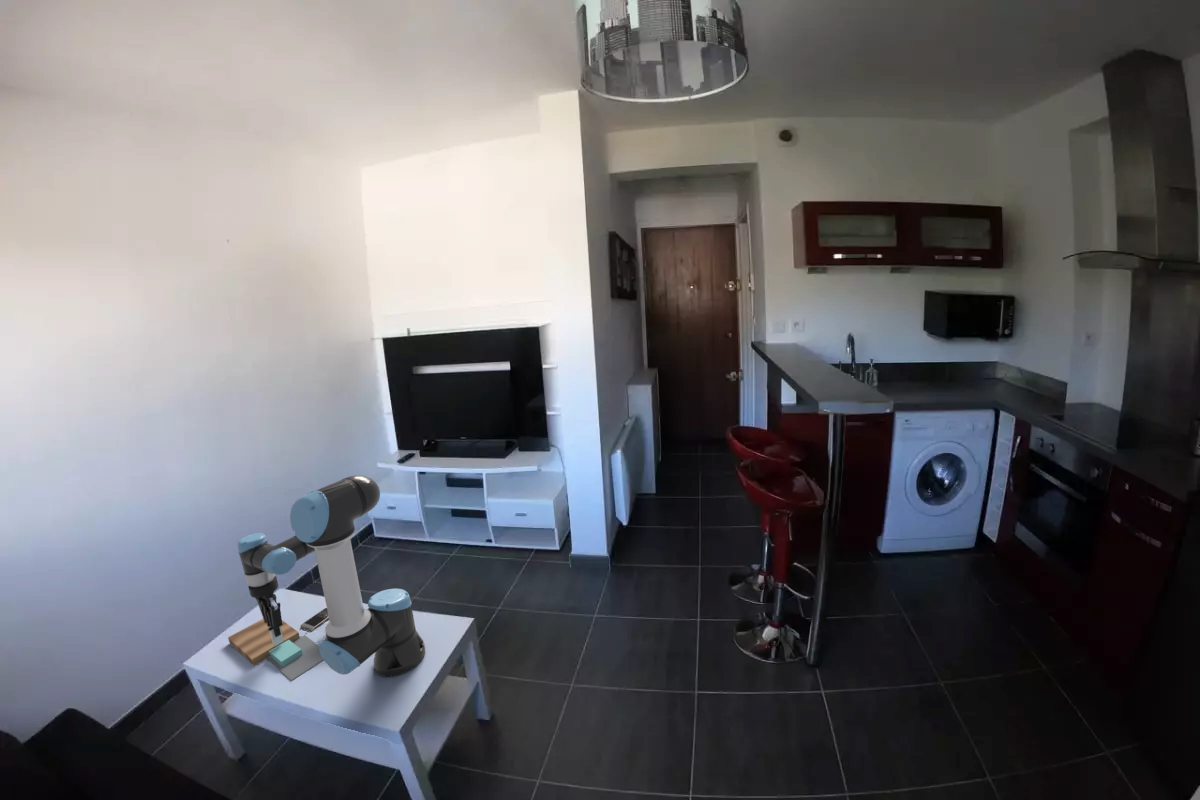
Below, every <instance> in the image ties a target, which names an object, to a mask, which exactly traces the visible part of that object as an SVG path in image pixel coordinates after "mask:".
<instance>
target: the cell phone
mask: <svg viewBox="0 0 1200 800" xmlns="http://www.w3.org/2000/svg"><path fill="white" fill-rule="evenodd" d="M328 620H329V615H328V610H327V607H325V608H324V609H321V610H320V611H318V612H317V613H316V614H314V615H313V616H312V617H310V618H309V619H307V620H306V621H304V622H302V623H301V624H300V629H301V630H303V631H307V632H312V631H314V630H316V629H317V628H318V627H320V626H321V625H323V624H324V623H325V622H327V621H328Z"/></svg>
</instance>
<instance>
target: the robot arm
mask: <svg viewBox="0 0 1200 800" xmlns="http://www.w3.org/2000/svg"><path fill="white" fill-rule="evenodd" d="M380 498H381V491H380V487H379V485H378V483H377V481H375V480H374V479H372V478H370V477H368V476H366V475H360V474H359V475H357V474H355V475H350V476H347V477H343V478H342V479H340V480H338V481H335V482H333V483H331V484H328V485H325V486H323V487H320V488H319V489H316V490H312V491H310V492H308V493H306V494H305V495H303V496H301V497H299V498H298V499H296V500H295V502H294V503H293V504H292V505H291V508H290V514H289V520H290V521H289V522H290V525H291V529H292V531H294V536H291V537H289V538H288V539H286V540H282V541H281V542H280V543H277V544H275V545H274V544H270V543H268V542H269V541H268V538H267V536H266V534H265V533H263V532H256V533H252V534H249V535H246V536H244V537H242V538H240V539H239V540H238V542H237V550H238V552H237V553H238V555H239V560H240V562H241V565H242V570H243V572H244V573H243V574H244V577H245V581H246V584H247V587H248V591H249V594H250V597H251V598H255V600H256V602H257V605H258V607H259V610H260V614H261V616H262V619H264V622H265V623H267V626H268V627H269V626H270V627H269V629H268V630H269V631H270V635H271V639H272V642H273V645H274V646H277V645H278V644H280V643H282V642H283V641H284V639H283V635H282V631H281V627H280V626H282V625H283V624H282V620H283V619H282V618H283V617H282V611H281V603H280V602H277V596H276V594H275V591H276V590H277V589H278V588H279V582H278V577H277V576H280V575H286V574H287V573H289V572H290V571H291V570H292V569H293V568H294V566H295V565H296V562H297V561H300V560H301V559H303V558H304V557H306V556H308V555H310V554H312V553H315V554H314V555H315V557H316V563H317V567H318V572H319V573H318V574H319V577H320V582H321V585H322V586H321V587H322V590H323V591H322V592H323V595H324V601H325V605H326V608H327V610H328V615H329V619H328V620H329V621H328V622H327V624H326V626H325V628H324V629H325V636H326V638H325V639H324V640H322V642H320V643H319V644H318V645H319V652H320V655H321V657H322V658H323V662H324V663H325V664H326V665H327V666H328V668H330V669H331V670H332V671H334V672H336V673H337V674H340V675H347V674H348V675H349V674H350V673H352V672H354V670H356V669H358V668H359V667H361V666H362V664H363V663H364V662H365V661H367V660H368V659H369V658H370V657H372V655H374V658H373V665H374V670H375V672H376V673H377V674H378V675H380V676H382V677H390V678H391V677H397V676H400V675H403V674H405V673H407V672H410V671H411V670H413V669H414V668H415V667H417V666H418V665H419V664H420V662H422V660H423V659H424V657H425V655H426V646H425V642H424V640H423V638H422V636H421V635H420V634H419V632H418V631H417V629H416V625H415V618H414V611H413V606H412V604H413V603H412V602H413V601H412V600H411V596H410V594H409V593H408V591H406V590H405V589H403V588H389V589H384V590H381V591H379V592H376V593H375V594H373V595H371V596H370V598H369V600H368V603H367V606H368V608H367V609H366V608H364V604H363V598H362V593H361V588H360V582H359V577H358V573H357V567H356V561H355V556H354V551H353V546H352V540H351V538H352V536H353V535H354V533H355V532H356V530H355V529H356V527H355V522H354V521H355V520H356V519H358V518H361V517H362V516H364V515H366V514H368V513H369V512H371V511H372V510H373V509H374V508H375V507H376V506H377V505H378V503H379V501H380Z"/></svg>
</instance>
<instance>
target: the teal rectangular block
mask: <svg viewBox="0 0 1200 800" xmlns="http://www.w3.org/2000/svg"><path fill="white" fill-rule="evenodd" d="M269 653H270V656H271V657H272V658H273V659H274V660H275V661H276V662H277V663H279V664H280V665H281V666H282V667H284V666H285V665H287V664H288V663H290V662H292V661H293V660H295V659H296V658H298V657H300V656H301V655H303V654H302V650H301V649H300V648H299V647H298V646H296V645H295V644H294V643H292V642H291V641H290V640H287V641H286V642H284V643H282V644H281V645H279V646H277V647H275V648H274V649H272V650H270V651H269Z"/></svg>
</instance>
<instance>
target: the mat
mask: <svg viewBox="0 0 1200 800" xmlns="http://www.w3.org/2000/svg"><path fill="white" fill-rule="evenodd" d="M292 643H294V644H295V645H296V646H298V647H299V648H300V649H301V650H302V654H303V655H301V656H300V657H298V658H296V659H295V660H293V661H292V662H290V663H288V664H287V665H285V666H284V667H282V666H281V665H280V664H279V663H277V662H276V661H275V660H274V659H273V658H272V657H271V656H268V657H267V658H266V659H265V660H267V661H268V662H269V663H271V665H272V666H273V667H275V668H276V669H277V670H278V671H280V673H282V675H284V676H285V677H286V678H288V679H289V680H290V682H292V681H294V680H295V679H297V678H298V677H300V676H301V675H303V674H304V673H306V672H307V671H309V670H310V669H312V668H314V667H315V666H317V665H318V664H319V663H322V662H324V660H323V658H322V657H321V655H320V652H319V645H320V644H318V643H316V642H315V641H313V640H312V639H311V638H309V637H308V636H307V635H305V634H304V635H302V636H301V637H300V638H299V639H297V640H295V641H294V642H292Z"/></svg>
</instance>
